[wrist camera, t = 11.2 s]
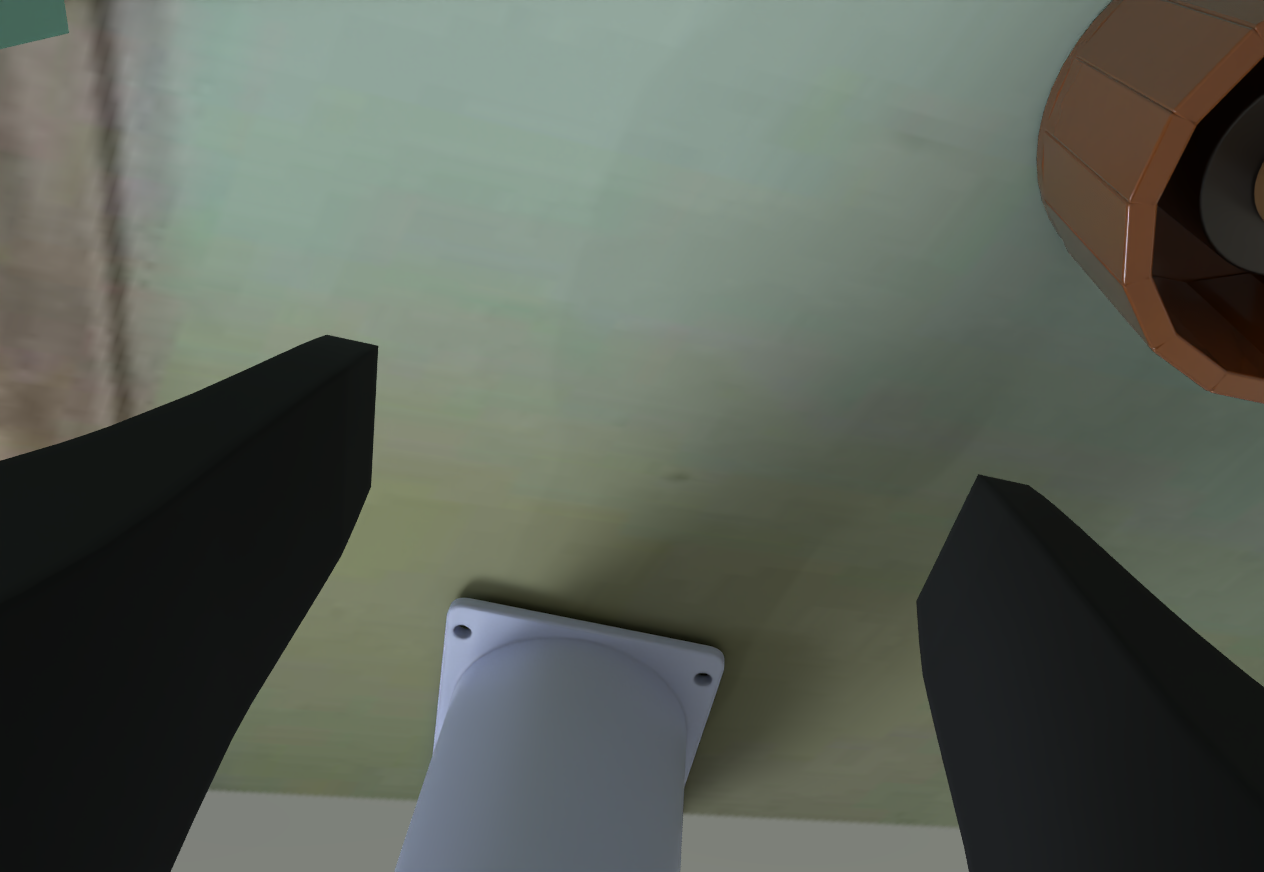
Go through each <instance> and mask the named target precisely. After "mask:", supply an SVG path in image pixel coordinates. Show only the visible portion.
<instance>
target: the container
mask: <svg viewBox="0 0 1264 872" xmlns="http://www.w3.org/2000/svg"><path fill="white" fill-rule="evenodd" d="M67 33H69V30H68V24H67V17H66V10H65V4H64V0H0V49H2V48H7V47H11V46H15V45H20V44H24V43H28V42H32V41H37V40H41V39H45V38H50V37H54V36H58V35H63V34H67Z"/></svg>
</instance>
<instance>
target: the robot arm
mask: <svg viewBox="0 0 1264 872" xmlns="http://www.w3.org/2000/svg"><path fill="white" fill-rule="evenodd" d="M377 359H378V346H377V345H372V344H367V343H363V342H358V341H353V340H349V339H344V338H339V337H335V336H330V335H325V336H322V337H319V338H316V339H314V340H311V341H309V342H306V343H304V344H302V345H299V346H297V347H295V348H292V349H290V350H288V351H286V352H284V353H281V354H279V355H277V356H275V357H273V358H270V359H268V360H266V361H264V362H262V363H260V364H257V365H255V366H253V367H251V368H249V369H246V370H244V371H242V372H240V373H238V374H235V375H233V376H231V377H229V378H226V379H224V380H222V381H220V382H217V383H215V384H213V385H211V386H208V387H206V388H204V389H202V390H200V391H197V392H195V393H193V394H190V395H188V396H185V397H183V398H180V399H178V400H175V401H173V402H170V403H168V404H165V405H162V406H160V407H157V408H155V409H152V410H150V411H147V412H145V413H142V414H140V415H137V416H135V417H132V418H129V419H127V420H124V421H122V422H119V423H117V424H114V425H112V426H109V427H106V428H103V429H101V430H98V431H95V432H92V433H89V434H86V435H83V436H80V437H77V438H74V439H71V440H68V441H65V442H62V443H59V444H56V445H52V446H49V447H46V448H42V449H39V450H35V451H32V452H29V453H25V454H22V455H19V456H15V457H12V458H9V459H5V460H1V461H0V872H171V869H172V867H173V865H174V863H175V861H176V858H177V856H178V854H179V852H180V849H181V847H182V845H183V843H184V841H185V838H186V836H187V834H188V831H189V829H190V827H191V825H192V823H193V821H194V818H195V816H196V814H197V812H198V810H199V808H200V806H201V803H202V801H203V799H204V797H205V795H206V793H207V791H208V789H209V787H210V784H211V782H212V780H213V778H214V776H215V774H216V772H217V770H218V768H219V765H220V763H221V761H222V759H223V757H224V755H225V753H226V751H227V749H228V746H229V744H230V742H231V740H232V738H233V736H234V734H235V733H236V731H237V729H238V727H239V725H240V724H241V722H242V720H243V718H244V716H245V715H246V713H247V711H248V709H249V707H250V705H251V704H252V702H253V700H254V699H255V697H256V695H257V694H258V692H259V690H260V689H261V687H262V686H263V684H264V682H265V681H266V679H267V677H268V676H269V674H270V673H271V671H272V669H273V668H274V666H275V664H276V663H277V661H278V659H279V658H280V656H281V655H282V653H283V651H284V650H285V648H286V646H287V645H288V643H289V641H290V640H291V638H292V637H293V635H294V633H295V632H296V630H297V628H298V627H299V625H300V624H301V622H302V620H303V619H304V617H305V615H306V614H307V612H308V610H309V609H310V607H311V606H312V604H313V602H314V601H315V599H316V597H317V596H318V594H319V592H320V591H321V589H322V587H323V586H324V584H325V582H326V581H327V579H328V577H329V576H330V574H331V572H332V571H333V569H334V567H335V565H336V564H337V562H338V560H339V559H340V557H341V555H342V553H343V551H344V549H345V546H346V544H347V542H348V540H349V537H350V535H351V533H352V531H353V528H354V526H355V524H356V522H357V519H358V517H359V514H360V512H361V510H362V507H363V505H364V502H365V500H366V497H367V495H368V493H369V490H370V488H371V476H372V457H373V437H374V418H375V398H376V379H377ZM916 602H917V617H918V631H919V644H920V653H921V663H922V672H923V678H924V683H925V687H926V692H927V696H928V701H929V705H930V709H931V713H932V718H933V722H934V726H935V730H936V735H937V739H938V743H939V747H940V751H941V755H942V759H943V763H944V767H945V771H946V775H947V779H948V783H949V787H950V792H951V796H952V800H953V804H954V808H955V812H956V816H957V820H958V824H959V828H960V832H961V836H962V840H963V844H964V849H965V854H966V859H967V864H968V869H969V872H1264V687H1263V686H1262V685H1260V684H1259V683H1258V682H1256V681H1255V680H1254V679H1253V678H1251V677H1250V676H1249V675H1247V674H1246V673H1245V672H1244V671H1243V670H1241V669H1240V668H1239V667H1238V666H1236V665H1235V664H1234V663H1233V662H1232V661H1230V660H1229V659H1228V658H1227V657H1226V656H1224V655H1223V654H1222V653H1221V652H1220V651H1218V650H1217V649H1216V648H1215V647H1214V646H1212V645H1211V644H1210V643H1209V642H1207V641H1206V640H1205V639H1204V638H1203V637H1201V636H1200V635H1199V634H1198V633H1197V632H1195V631H1194V630H1193V629H1192V628H1191V627H1190V626H1188V625H1187V624H1186V623H1185V622H1184V621H1183V620H1182V619H1180V618H1179V617H1178V616H1177V615H1176V614H1175V613H1173V612H1172V611H1171V610H1170V609H1169V608H1168V607H1167V606H1166V605H1164V604H1163V603H1162V602H1161V601H1160V600H1159V599H1158V598H1157V597H1155V596H1154V595H1153V594H1152V593H1151V592H1150V591H1149V590H1148V589H1147V588H1145V587H1144V586H1143V585H1142V584H1141V583H1140V582H1139V581H1138V580H1137V579H1135V578H1134V577H1133V576H1132V575H1131V574H1130V573H1129V572H1128V571H1127V570H1126V569H1124V568H1123V567H1122V566H1121V565H1120V564H1119V563H1118V562H1117V561H1116V560H1115V559H1114V558H1112V557H1111V556H1110V555H1109V554H1108V553H1107V552H1106V551H1105V550H1104V549H1103V548H1102V547H1100V546H1099V545H1098V544H1097V543H1096V542H1095V541H1094V540H1093V539H1092V538H1091V537H1090V536H1088V535H1087V534H1086V533H1085V532H1084V531H1083V530H1082V529H1081V528H1080V527H1079V526H1077V525H1076V524H1075V523H1074V522H1073V521H1072V520H1071V519H1070V518H1068V517H1067V516H1066V515H1065V514H1064V513H1063V512H1062V511H1061V510H1059V509H1058V508H1057V507H1056V506H1055V505H1053V504H1052V503H1051V502H1050V501H1049V500H1047V499H1046V498H1045V497H1044V496H1042V495H1041V494H1040V493H1038V492H1037V491H1036V490H1034V489H1033V488H1032V487H1030V486H1029V485H1025V484H1020V483H1016V482H1011V481H1006V480H1002V479H997V478H992V477H988V476H983V475H978V476H977V478H976V480H975V482H974V484H973V486H972V488H971V490H970V492H969V494H968V496H967V498H966V500H965V502H964V505H963V507H962V509H961V511H960V513H959V515H958V517H957V519H956V521H955V523H954V525H953V527H952V529H951V531H950V533H949V535H948V537H947V539H946V542H945V544H944V546H943V548H942V550H941V552H940V554H939V556H938V558H937V560H936V562H935V564H934V566H933V568H932V570H931V572H930V574H929V576H928V579H927V581H926V583H925V585H924V587H923V589H922V591H921V593H920V595H919V597H918V599H917V601H916ZM459 625H464V626H467V627H468V628H469V629H465V628H462V627H460V626H459ZM723 671H724V655H723V653H722V652H721V651H720V650H719V649H717V648H715V647H712V646H708V645H703V644H698V643H693V642H688V641H683V640H678V639H673V638H668V637H663V636H658V635H653V634H648V633H642V632H637V631H632V630H627V629H622V628H617V627H612V626H607V625H602V624H597V623H592V622H587V621H582V620H577V619H572V618H567V617H562V616H557V615H552V614H547V613H542V612H537V611H532V610H527V609H522V608H517V607H512V606H507V605H502V604H497V603H492V602H487V601H482V600H477V599H472V598H458V599H455V600H454V601H453V602H452V603H451V605H450V608H449V611H448V613H447V620H446V629H445V639H444V649H443V659H442V669H441V679H440V689H439V698H438V708H437V718H436V728H435V738H434V748H433V756H432V759H431V762H430V765H429V768H428V771H427V774H426V777H425V780H424V783H423V786H422V789H421V792H420V795H419V798H418V801H417V804H416V807H415V810H414V814H413V817H412V820H411V823H410V826H409V829H408V832H407V835H406V838H405V841H404V844H403V847H402V850H401V853H400V857H399V859H398V862H397V865H396V868H395V871H394V872H680V865H681V844H682V843H681V842H682V823H683V803H684V787H685V784H686V781H687V778H688V775H689V772H690V769H691V766H692V763H693V760H694V757H695V754H696V751H697V748H698V745H699V742H700V739H701V736H702V733H703V730H704V727H705V724H706V722H707V719H708V716H709V713H710V710H711V707H712V704H713V701H714V698H715V695H716V692H717V689H718V686H719V683H720V680H721V677H722V674H723ZM699 673H706V674H709V675H706V676H701V675H699Z"/></svg>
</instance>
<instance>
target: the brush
mask: <svg viewBox="0 0 1264 872" xmlns="http://www.w3.org/2000/svg"><path fill="white" fill-rule="evenodd" d="M1157 205H1158V206H1159V207H1160V208H1161V209H1162V210H1164V211H1165V212H1166V213H1167V214H1169V215H1170V216H1171V217H1172V218H1173V219H1175V220H1176V221H1177V222H1178V223H1180V224H1181V225H1182V226H1183V227H1185V228H1186V229H1187V230H1188V231H1189V232H1191V233H1192V234H1193V235H1194V236H1196V237H1197V238H1198V239H1199V240H1200V241H1202V242H1203V243H1204V244H1205V245H1207V246H1208V247H1209V248H1210V249H1211V250H1213V251H1214V252H1215V253H1216V254H1218V255H1219V256H1220V257H1221V258H1223V259H1224V260H1225V261H1227V262H1228V263H1230V264H1231V265H1233V266H1235V267H1237V268H1239V269H1241V270H1244V271H1246V272H1250V273H1253V274H1257V275H1263V276H1264V57H1263V58H1262V59H1261V60H1260V61H1259V62H1258V64H1257V65H1256V66H1255V67H1254V68H1253V69H1252V70H1251V71H1250V72H1249V73H1248V74H1247V75H1246V76H1245V77H1244V78H1243V79H1242V80H1241V81H1240V82H1239V83H1238V84H1237V85H1236V86H1235V87H1234V88H1233V89H1232V90H1231V91H1230V92H1229V93H1228V94H1227V95H1226V96H1225V97H1224V98H1223V99H1222V100H1221V101H1220V102H1219V103H1218V104H1217V105H1216V106H1215V107H1214V108H1213V109H1212V110H1211V111H1210V112H1209V113H1208V114H1207V115H1206V116H1205V117H1204V118H1203V119H1202V120H1201V121H1200V122H1199V123H1198V124H1197V126H1196V128H1195V130H1194V132H1193V134H1192V136H1191V138H1190V140H1189V142H1188V144H1187V146H1186V148H1185V150H1184V152H1183V154H1182V156H1181V158H1180V160H1179V162H1178V164H1177V166H1176V168H1175V170H1174V172H1173V174H1172V176H1171V178H1170V180H1169V182H1168V184H1167V186H1166V188H1165V190H1164V192H1163V194H1162V196H1161V198H1160V200H1159V202H1158V204H1157Z"/></svg>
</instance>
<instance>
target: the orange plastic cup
mask: <svg viewBox="0 0 1264 872" xmlns="http://www.w3.org/2000/svg"><path fill="white" fill-rule="evenodd" d="M1263 57H1264V0H1113V1H1112V2H1111V3H1110V4H1109V5H1108V6H1107V7H1106V8H1105V9H1104V11H1103V12H1102V13H1101V14H1100V15H1099V16H1098V17H1097V18H1096V19H1095V20H1094V21H1093V23H1092V24H1091V25H1090V26H1089V28H1088V29H1087V30H1086V32H1085V33H1084V34H1083V35H1082V37H1081V38H1080V39H1079V41H1078V42H1077V44H1076V45H1075V47H1074V48H1073V50H1072V52H1071V53H1070V55H1069V56H1068V58H1067V60H1066V61H1065V63H1064V64H1063V66H1062V68H1061V70H1060V73H1059V75H1058V77H1057V79H1056V81H1055V83H1054V85H1053V87H1052V89H1051V92H1050V95H1049V98H1048V101H1047V104H1046V107H1045V110H1044V112H1043V117H1042V122H1041V126H1040V131H1039V136H1038V147H1037V174H1038V183H1039V188H1040V193H1041V198H1042V202H1043V204H1044V207H1045V210H1046V212H1047V215H1048V217H1049V220H1050V221H1051V223H1052V225H1053V227H1054V228H1055V230H1056V232H1057V234H1058V235H1059V237H1060V238H1061V239H1062V240H1063V242H1064V245H1065V247H1066V249H1067V251H1068V253H1069V254H1070V255H1071V256H1072V257H1073V259H1074V260H1075V261H1076V262H1077V263H1078V265H1079V266H1080V267H1081V268H1082V269H1083V270H1084V272H1085V273H1086V274H1087V275H1088V276H1089V277H1090V279H1091V280H1092V281H1093V282H1094V283H1095V284H1096V286H1097V287H1098V288H1099V289H1100V290H1101V291H1102V293H1103V294H1104V295H1105V296H1106V297H1107V298H1108V300H1109V301H1110V302H1111V303H1112V304H1113V305H1114V307H1115V308H1116V309H1117V310H1118V311H1119V312H1120V314H1121V315H1122V316H1123V317H1124V318H1125V319H1126V321H1127V322H1128V323H1129V324H1130V325H1131V326H1132V328H1133V329H1134V330H1135V331H1136V332H1137V333H1138V335H1139V336H1140V337H1141V338H1142V339H1143V340H1144V342H1145V343H1146V344H1147V345H1148V346H1149V348H1150V349H1151V350H1152V351H1153V352H1154V353H1156V354H1157V355H1158V356H1160V357H1161V358H1162V359H1164V360H1165V361H1166V362H1168V363H1169V364H1171V365H1172V366H1173V367H1175V368H1176V369H1177V370H1179V371H1180V372H1181V373H1183V374H1184V375H1186V376H1187V377H1188V378H1190V379H1191V380H1192V381H1194V382H1195V383H1196V384H1198V385H1199V386H1201V387H1202V388H1203V389H1205V390H1206V391H1210V392H1211V393H1215V394H1220V395H1225V396H1230V397H1235V398H1239V399H1244V400H1249V401H1254V402H1259V403H1263V404H1264V276H1263V275H1257V274H1253V273H1250V272H1246V271H1244V270H1241V269H1239V268H1237V267H1235V266H1233V265H1231V264H1230V263H1228V262H1227V261H1225V260H1224V259H1223V258H1221V257H1220V256H1219V255H1218V254H1216V253H1215V252H1214V251H1213V250H1211V249H1210V248H1209V247H1208V246H1207V245H1205V244H1204V243H1203V242H1202V241H1200V240H1199V239H1198V238H1197V237H1196V236H1194V235H1193V234H1192V233H1191V232H1189V231H1188V230H1187V229H1186V228H1185V227H1183V226H1182V225H1181V224H1180V223H1178V222H1177V221H1176V220H1175V219H1173V218H1172V217H1171V216H1170V215H1169V214H1167V213H1166V212H1165V211H1164V210H1162V209H1161V208H1160V207H1159V206H1158V205H1157V204H1158V202H1159V200H1160V198H1161V196H1162V194H1163V192H1164V190H1165V188H1166V186H1167V184H1168V182H1169V180H1170V178H1171V176H1172V174H1173V172H1174V170H1175V168H1176V166H1177V164H1178V162H1179V160H1180V158H1181V156H1182V154H1183V152H1184V150H1185V148H1186V146H1187V144H1188V142H1189V140H1190V138H1191V136H1192V134H1193V132H1194V130H1195V128H1196V126H1197V124H1198V123H1199V122H1200V121H1201V120H1202V119H1203V118H1204V117H1205V116H1206V115H1207V114H1208V113H1209V112H1210V111H1211V110H1212V109H1213V108H1214V107H1215V106H1216V105H1217V104H1218V103H1219V102H1220V101H1221V100H1222V99H1223V98H1224V97H1225V96H1226V95H1227V94H1228V93H1229V92H1230V91H1231V90H1232V89H1233V88H1234V87H1235V86H1236V85H1237V84H1238V83H1239V82H1240V81H1241V80H1242V79H1243V78H1244V77H1245V76H1246V75H1247V74H1248V73H1249V72H1250V71H1251V70H1252V69H1253V68H1254V67H1255V66H1256V65H1257V64H1258V62H1259V61H1260V60H1261V59H1262V58H1263Z"/></svg>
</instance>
